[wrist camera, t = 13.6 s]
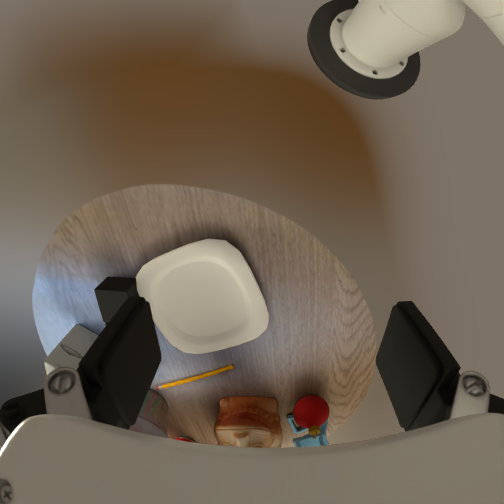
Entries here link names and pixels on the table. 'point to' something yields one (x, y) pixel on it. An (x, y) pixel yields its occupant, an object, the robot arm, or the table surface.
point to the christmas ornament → (311, 413)
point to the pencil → (196, 377)
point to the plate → (203, 296)
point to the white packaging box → (70, 349)
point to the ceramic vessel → (248, 422)
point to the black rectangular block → (114, 295)
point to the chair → (308, 439)
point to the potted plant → (152, 416)
